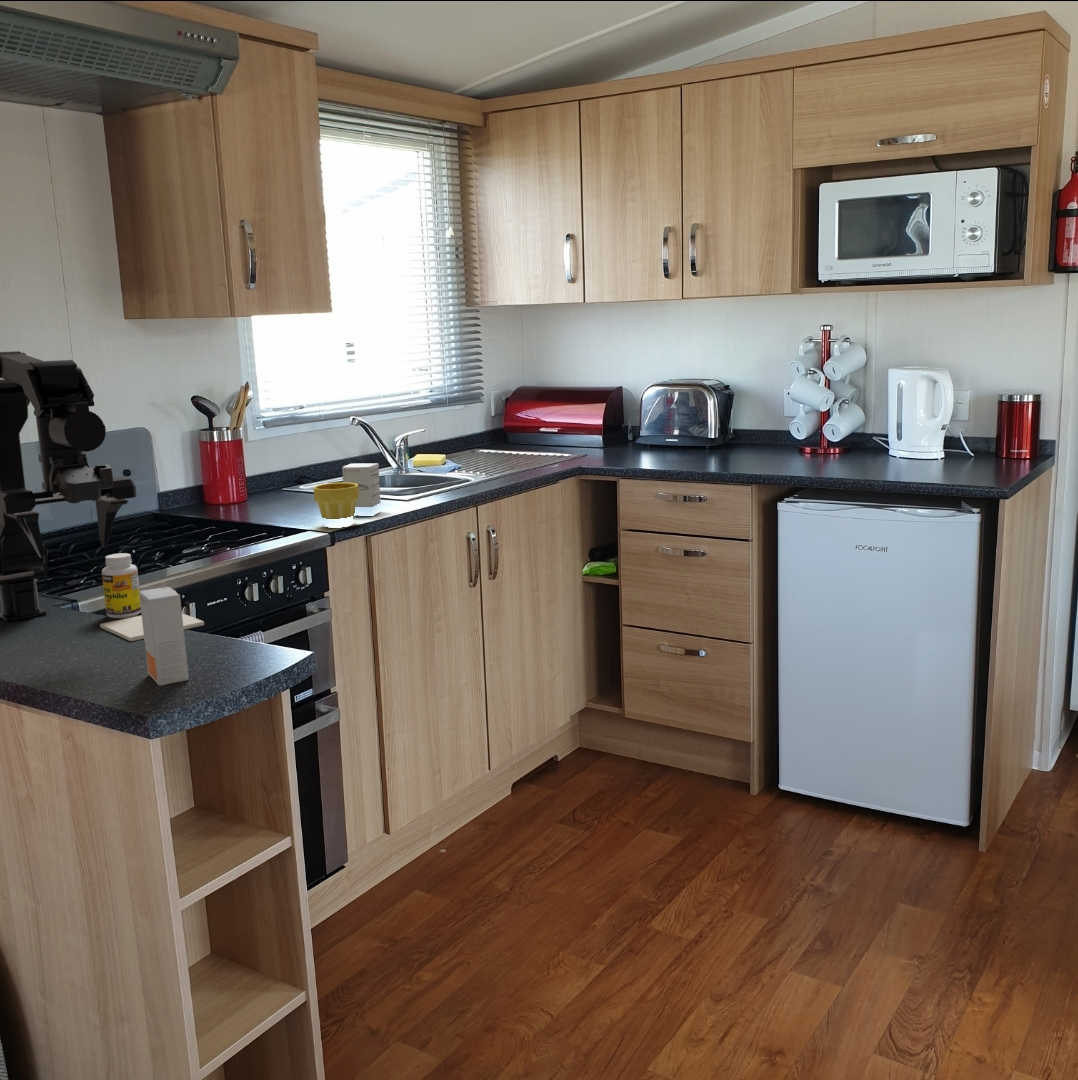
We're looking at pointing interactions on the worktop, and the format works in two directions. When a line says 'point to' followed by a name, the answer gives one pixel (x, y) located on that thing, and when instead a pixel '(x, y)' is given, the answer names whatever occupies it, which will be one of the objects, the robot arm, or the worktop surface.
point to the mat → (141, 626)
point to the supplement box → (364, 482)
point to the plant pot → (336, 499)
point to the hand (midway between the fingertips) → (73, 552)
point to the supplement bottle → (121, 586)
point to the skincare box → (164, 635)
